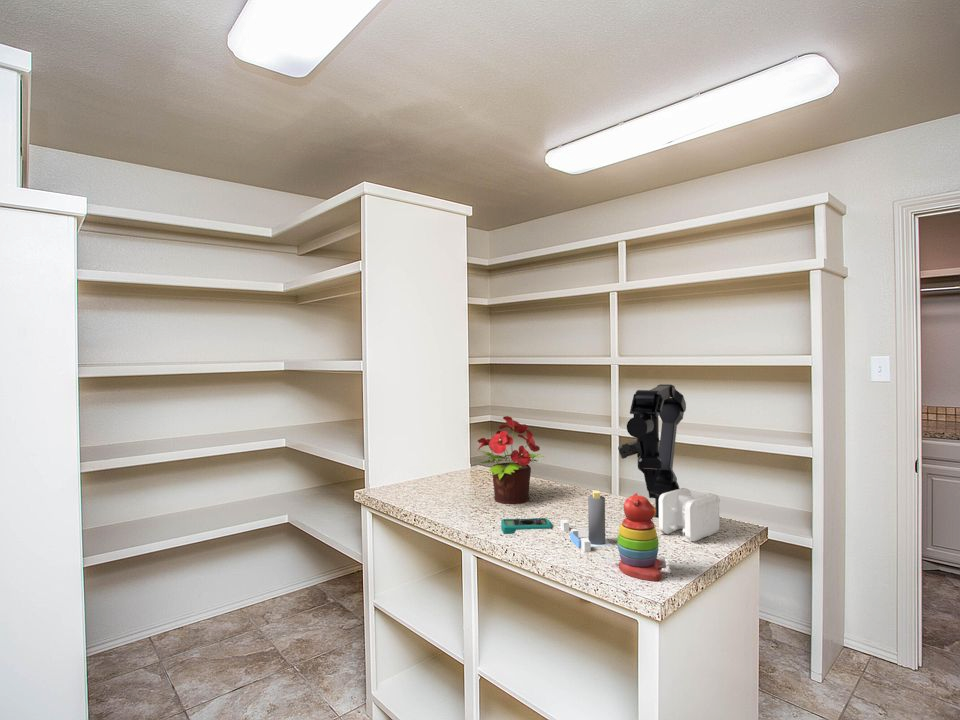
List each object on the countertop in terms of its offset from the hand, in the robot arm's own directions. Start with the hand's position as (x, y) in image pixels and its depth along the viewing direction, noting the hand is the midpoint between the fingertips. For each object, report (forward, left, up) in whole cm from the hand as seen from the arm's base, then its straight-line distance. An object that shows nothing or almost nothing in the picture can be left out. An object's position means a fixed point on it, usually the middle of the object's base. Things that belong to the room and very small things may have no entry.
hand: (649, 487), depth 151 cm
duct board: (+12, -15, -13) cm, 24 cm away
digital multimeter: (+6, -35, -14) cm, 38 cm away
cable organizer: (-1, +11, -13) cm, 17 cm away
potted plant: (-26, -49, -13) cm, 57 cm away
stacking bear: (+29, -3, -13) cm, 32 cm away
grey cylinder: (+15, -14, -12) cm, 24 cm away
